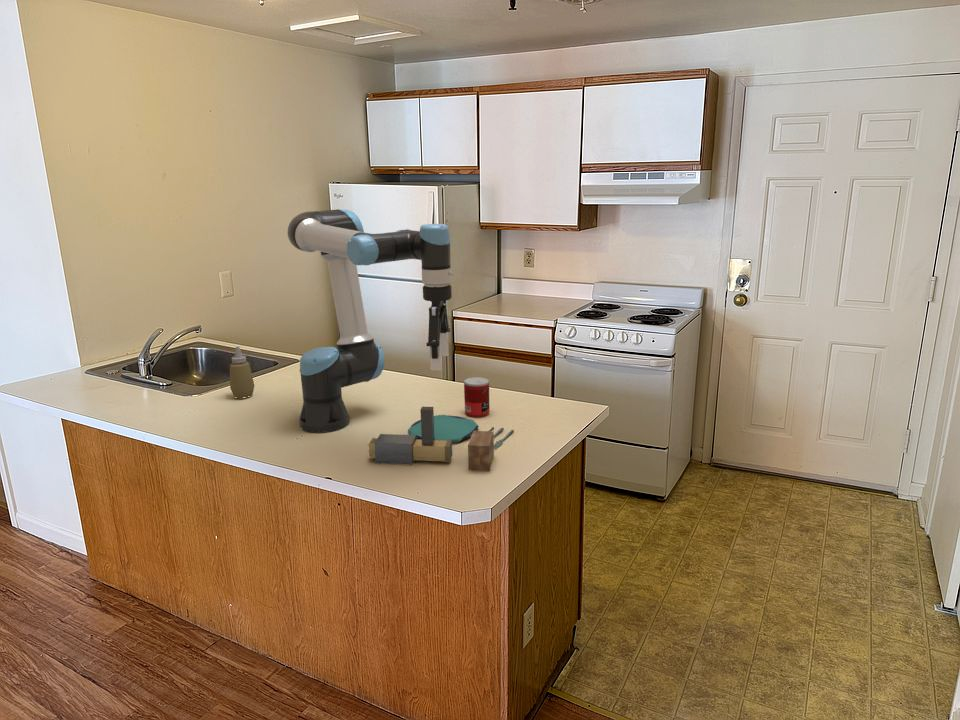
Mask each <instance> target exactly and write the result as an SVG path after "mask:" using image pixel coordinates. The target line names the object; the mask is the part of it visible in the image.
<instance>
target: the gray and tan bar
mask: <svg viewBox="0 0 960 720" xmlns="http://www.w3.org/2000/svg"><path fill="white" fill-rule="evenodd" d="M419 411H420V420H421V434H422V440H421V439H416V440H414V442H413V444H412V460H414V461H426V462H429V461H430V462H447V463H449V462H451V459H452V457H453V443H452V440H447V441H445V440H435V434H434V416H435V415H434V414H435V413H434V411H435V409H434V406H421V407H420V409H419ZM377 438H378V437H372V438H371V440H370V441H369V442H368V444H367V445H368V458H369V459H371V460H376V459H375V444H374V442H375V441H376V440H377Z"/></svg>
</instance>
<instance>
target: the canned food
mask: <svg viewBox="0 0 960 720" xmlns="http://www.w3.org/2000/svg"><path fill="white" fill-rule="evenodd" d="M463 388H464V389H463V390H464V391H463V392H464V395H463V397H464V413H465V415H466V416H467V417H470V418H483V417H486V416H488V415H489V413H490V380H489V379H487V378H485V377H468V378H466V379H465V380H464V381H463Z"/></svg>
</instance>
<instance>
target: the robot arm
mask: <svg viewBox="0 0 960 720" xmlns="http://www.w3.org/2000/svg"><path fill="white" fill-rule="evenodd" d="M364 230H365V229H364V226H363V223H362V221H361V219H360V218H359V216H358V215H357V214H355V212H353V211H352V210H350V209H339V208H338V209H328V210H316V211H312V210H311V211H305V212H301V213H299V214H297V215H295V217H293V218H292V219H291V221H290V222H289V224H288V227H287V238H288V240H289V243H290V244H291V245H292V246H293V247H294V248H295V249H297V250H300V251H303V252H306V253H313V252H314V253H315V252H320V255H321V256H320V257H321V258H323V259H324V260H325V261H326V262H327V268H328V274H329V279H330V284H331V290H332V295H333V301H334V302H333V303H334V308H335V314H336V319H337V326H338V331H339V339H338V341H337V342H336V347H335V346H324V347H322V346H319V347H315V348H313V349H310V350H307V351H306V352H304V353H303V354H302V355H301V357H300V360H299V374H300V380H301V381H300V382H301V389H302V399H303V402H302V406H301V411H300V414H299V422H298V423H299V427H301V428H302V429H303V430H302V429H301V428H300V429H301V430H302V431H305V430H306V431H305V432H308V431H310V433H328V432H335V431H338V430H341V429H344V428H345V427H347V426H349V424H350V414H349V412H348V410H347V409H348V408H347V406H346V404H345V402H344V399H343V394H342V388H345V387H350V386H352V385H357V384H360V383H365V382H366V383H367V382H370V381H371V380H375V379H377V378H378V377H380V376H381V374H382V372H383V371H384V368H385V361H386V360H385V353H384V350H383V348H382V347H381V345H380V343H377V342H375V340H374V336H373V335H370V333H368V326H367V322H366V315H365V314H366V313H365V309H364V303H363V297H362V291H361V285H360V278H359V273H358V268H357V267H358V266H370V265H374V264H382V263H388V262H389V263H390V262H397V261H398V262H399V261H404V260H405V261H407V260H420V262H421V282H422V284H423V286H422V298H423V300H424V301H425V302H426V301H427V302H431V304H430V306H429V308H428V334H427V335H428V337H427V338H428V340H427V342H426V343H425V344H426V347H429V361H430V371H442V357H449V355H450V354H449V334H448V333H451V327H450V325H449V318H448V312H447V311H448V309H447V301H450V300H451V299H452V297H453V296H452V295H453V294H452V293H453V292H452V285H451V284H450V283H451V282H452V276H453V275H454V272H453V271H451V237H450V228H449V226H448V224H447V225H446V224H444V223H427V224H421V226H420V229H419V230H412V229H408V228H407V229H398V230H396V231H391V232H384V233H383V232H382V233H381V232H380V233H368V232H364Z"/></svg>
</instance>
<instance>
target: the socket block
mask: <svg viewBox="0 0 960 720" xmlns="http://www.w3.org/2000/svg"><path fill="white" fill-rule="evenodd" d="M494 439H495V438H494V431H492V430H491V431H489V430H476V431H473V433H472V435H471V436H470V438H469V441H468V444H467V459H468V460H467V461H468V462H467V463H468V471H477V470H478V471H480V470H481V472H490V471H491V467H492V463H493V459H494V455H495V451H494V450H495V449H494V444H495V443H494V441H495V440H494Z"/></svg>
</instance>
